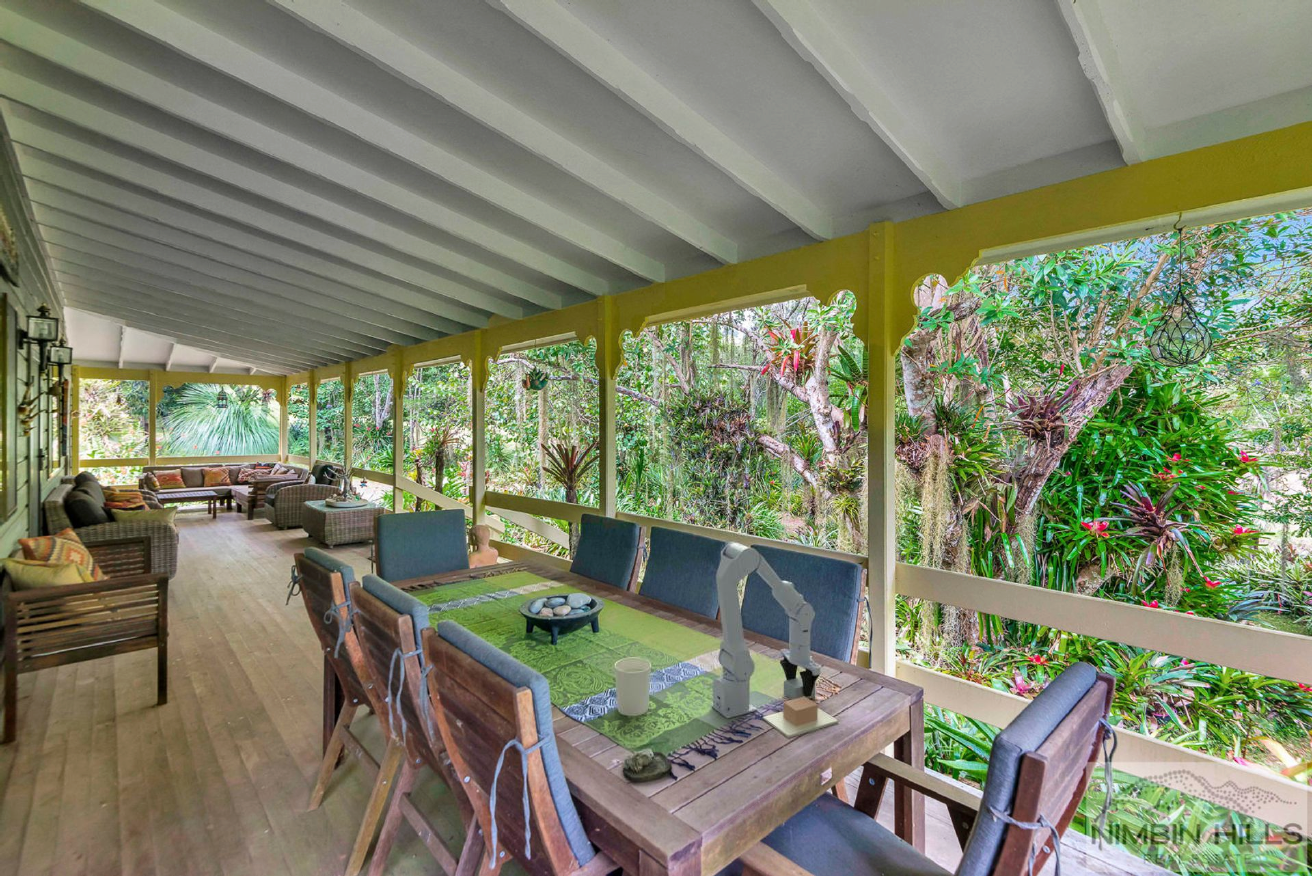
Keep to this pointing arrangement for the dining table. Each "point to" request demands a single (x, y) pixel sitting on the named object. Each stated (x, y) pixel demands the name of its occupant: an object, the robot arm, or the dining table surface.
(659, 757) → the dark green oval dish
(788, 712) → the terracotta brick
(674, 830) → the dining table surface
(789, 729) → the baseboard
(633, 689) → the candle holder
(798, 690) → the slate brick
